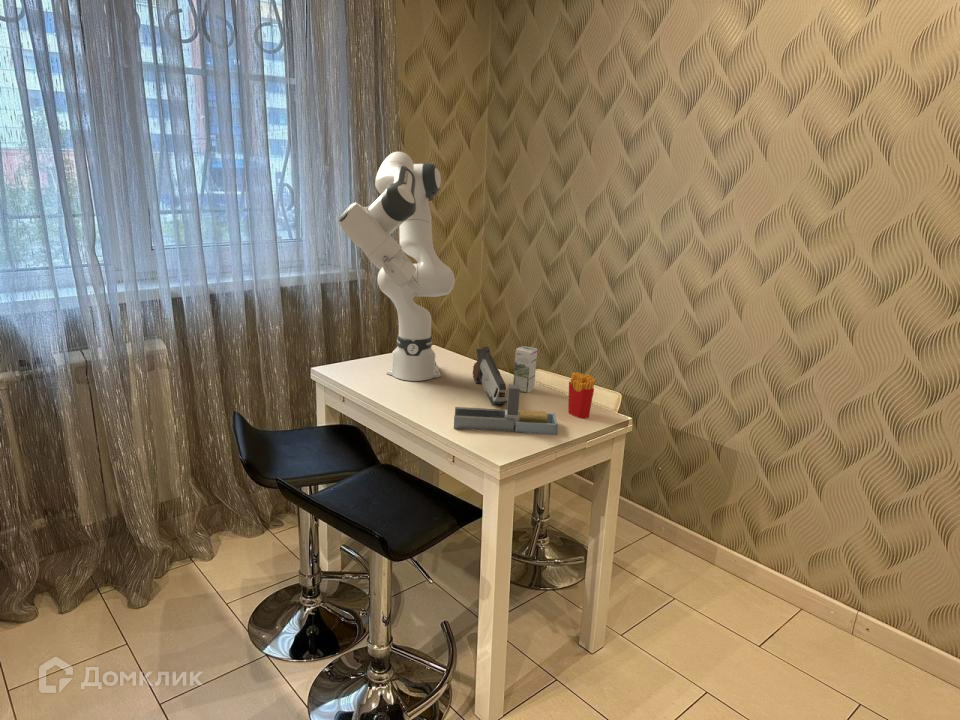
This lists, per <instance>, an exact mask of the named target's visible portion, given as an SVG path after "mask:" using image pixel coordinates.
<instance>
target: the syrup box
mask: <svg viewBox="0 0 960 720" xmlns="http://www.w3.org/2000/svg"><path fill="white" fill-rule="evenodd" d="M537 358H538V348H536V347H529V346H525V345H521V346H519V347H517V348H515V356H514V366H513V367H514V369H513V384H512V385H519V387H520V393H526V394H528V393H529V394H530V393H531V392H532V391H533V390H534V389H535V382H536V381H535V380H536V371H537V369H536V368H537Z"/></svg>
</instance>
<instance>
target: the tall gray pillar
mask: <svg viewBox="0 0 960 720" xmlns="http://www.w3.org/2000/svg"><path fill="white" fill-rule="evenodd" d="M520 393H521V391H520V387H519V385H513V384H511V383H510V384H508V391H507V403H506V409H504V410H505V418H512V419H514V425H516V422H519V417H520V415H519V404H520V403H519V402H520V395H521V394H520Z"/></svg>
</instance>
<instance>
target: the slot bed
mask: <svg viewBox="0 0 960 720" xmlns="http://www.w3.org/2000/svg"><path fill="white" fill-rule="evenodd" d="M505 410H506V409H505V408H504V409H502V408H501V409H499V408H483V407H466V406H455V407H454V417H453V418H454V419H453V430H471V431H472V430H473V431H489V432H508V433H514V430H515V427H514V419H512V418H505Z"/></svg>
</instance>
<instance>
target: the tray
mask: <svg viewBox="0 0 960 720" xmlns="http://www.w3.org/2000/svg"><path fill="white" fill-rule="evenodd" d="M547 416H548V417H547V423H532V422H516V425H514V432H515V433H517V434H518V433H519V434H536V435H539V434H540V435H553V436H554V435H555V436H557V435H558V432H559V431H558V430H559V424H558V420H557V416H556V413H552V412H551V413H550V412H547Z"/></svg>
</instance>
